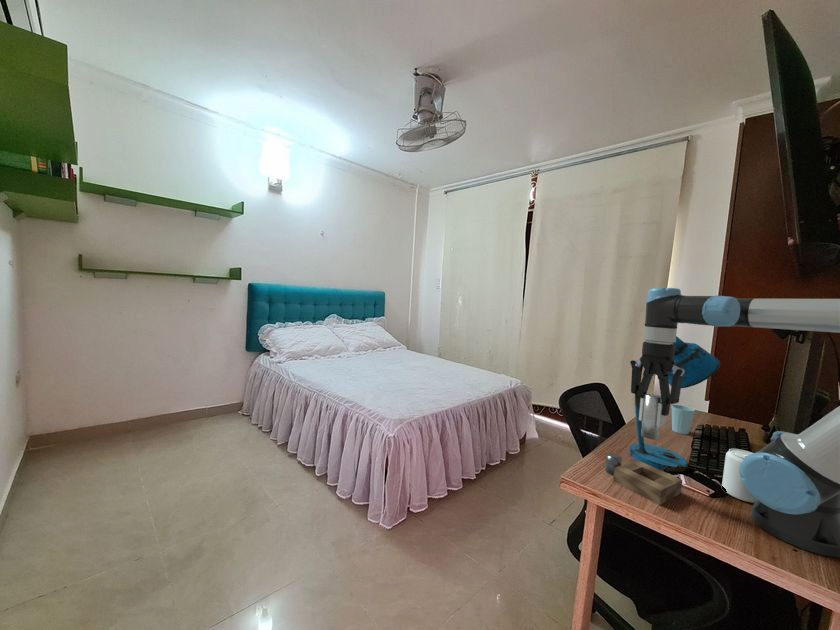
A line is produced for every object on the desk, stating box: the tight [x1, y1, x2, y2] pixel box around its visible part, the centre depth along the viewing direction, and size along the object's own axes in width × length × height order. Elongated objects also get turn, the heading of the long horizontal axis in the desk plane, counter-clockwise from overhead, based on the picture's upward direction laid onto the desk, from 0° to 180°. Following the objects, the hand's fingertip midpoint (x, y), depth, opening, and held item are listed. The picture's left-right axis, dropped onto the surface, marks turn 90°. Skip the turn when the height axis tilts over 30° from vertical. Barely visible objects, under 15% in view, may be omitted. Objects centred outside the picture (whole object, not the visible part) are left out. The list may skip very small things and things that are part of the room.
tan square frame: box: [612, 459, 683, 506], centre depth 93 cm, size 12×12×4 cm
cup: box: [670, 404, 696, 435], centre depth 137 cm, size 8×8×10 cm
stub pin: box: [604, 452, 622, 476], centre depth 100 cm, size 4×4×5 cm
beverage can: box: [721, 448, 757, 504], centre depth 92 cm, size 8×8×12 cm
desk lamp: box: [628, 335, 721, 471], centre depth 109 cm, size 16×22×45 cm
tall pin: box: [641, 393, 662, 441], centre depth 94 cm, size 4×4×12 cm
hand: (651, 422), depth 94 cm, fingers closed on tall pin, 4 cm apart
